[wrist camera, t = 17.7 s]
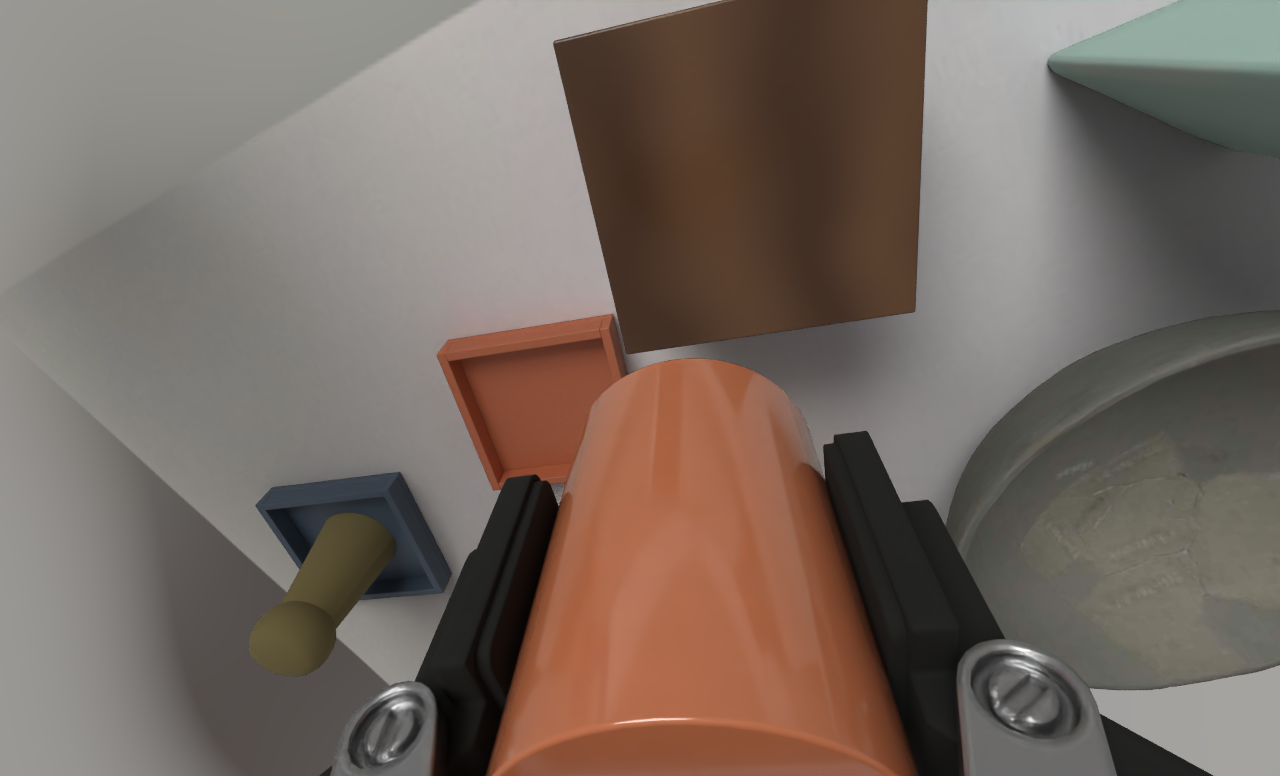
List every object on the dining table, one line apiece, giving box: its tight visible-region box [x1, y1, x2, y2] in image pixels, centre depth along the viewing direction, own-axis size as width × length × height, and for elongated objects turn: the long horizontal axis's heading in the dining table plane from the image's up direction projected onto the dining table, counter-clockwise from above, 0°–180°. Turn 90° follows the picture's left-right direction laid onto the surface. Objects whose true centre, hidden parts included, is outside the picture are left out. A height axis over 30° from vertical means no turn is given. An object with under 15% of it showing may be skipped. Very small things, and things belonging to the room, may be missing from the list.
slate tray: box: [255, 472, 452, 600], centre depth 47 cm, size 11×11×2 cm
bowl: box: [946, 310, 1280, 690], centre depth 34 cm, size 26×26×10 cm
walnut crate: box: [553, 0, 928, 354], centre depth 26 cm, size 12×12×11 cm
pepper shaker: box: [249, 513, 396, 677], centre depth 43 cm, size 6×6×11 cm
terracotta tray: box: [437, 314, 627, 491], centre depth 39 cm, size 11×11×2 cm
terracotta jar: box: [486, 358, 920, 776], centre depth 9 cm, size 5×5×7 cm
